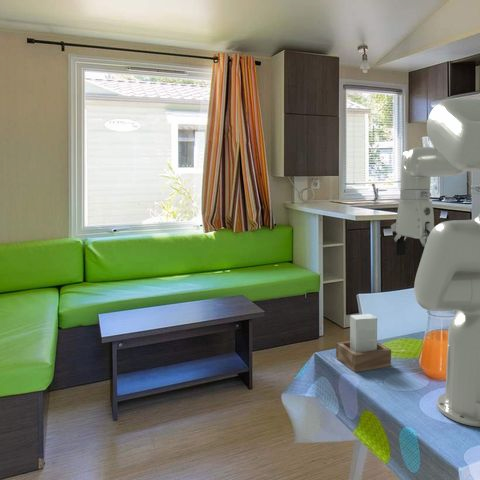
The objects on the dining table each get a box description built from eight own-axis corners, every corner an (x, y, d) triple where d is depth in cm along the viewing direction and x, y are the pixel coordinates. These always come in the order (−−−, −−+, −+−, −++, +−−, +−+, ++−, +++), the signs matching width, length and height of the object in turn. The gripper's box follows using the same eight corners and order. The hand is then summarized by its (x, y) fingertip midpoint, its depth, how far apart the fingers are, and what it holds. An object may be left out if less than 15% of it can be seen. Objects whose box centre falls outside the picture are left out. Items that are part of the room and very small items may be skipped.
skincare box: (369, 355, 120) (370, 313, 118) (377, 361, 116) (378, 317, 114) (349, 357, 119) (349, 314, 117) (355, 363, 115) (356, 319, 113)
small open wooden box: (390, 366, 115) (391, 349, 114) (354, 372, 111) (355, 355, 111) (369, 353, 124) (370, 337, 123) (335, 358, 120) (336, 342, 120)
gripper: (450, 196, 112) (447, 262, 114) (403, 194, 128) (401, 252, 130) (427, 197, 109) (424, 264, 112) (382, 195, 125) (381, 254, 128)
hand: (412, 257), depth 121 cm, fingers open, 9 cm apart
